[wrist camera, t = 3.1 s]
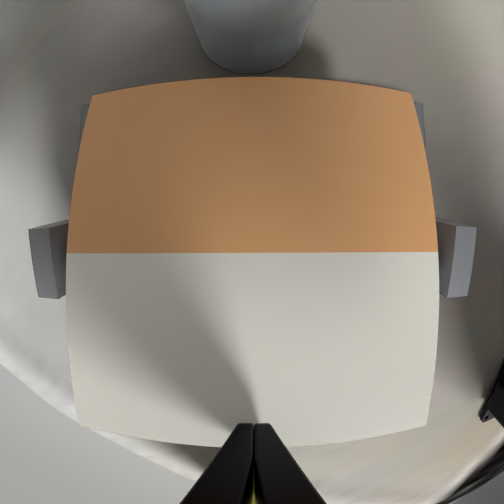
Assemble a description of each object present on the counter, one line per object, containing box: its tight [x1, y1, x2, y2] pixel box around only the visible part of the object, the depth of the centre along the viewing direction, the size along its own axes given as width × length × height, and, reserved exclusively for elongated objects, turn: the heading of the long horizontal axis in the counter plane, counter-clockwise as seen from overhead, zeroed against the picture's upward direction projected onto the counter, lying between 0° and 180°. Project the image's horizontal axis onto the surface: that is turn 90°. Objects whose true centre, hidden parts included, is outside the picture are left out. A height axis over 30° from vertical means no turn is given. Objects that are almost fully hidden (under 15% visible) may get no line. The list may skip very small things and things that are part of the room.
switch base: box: [28, 102, 477, 299], centre depth 11 cm, size 16×13×6 cm
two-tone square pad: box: [66, 77, 439, 447], centre depth 9 cm, size 12×11×2 cm
